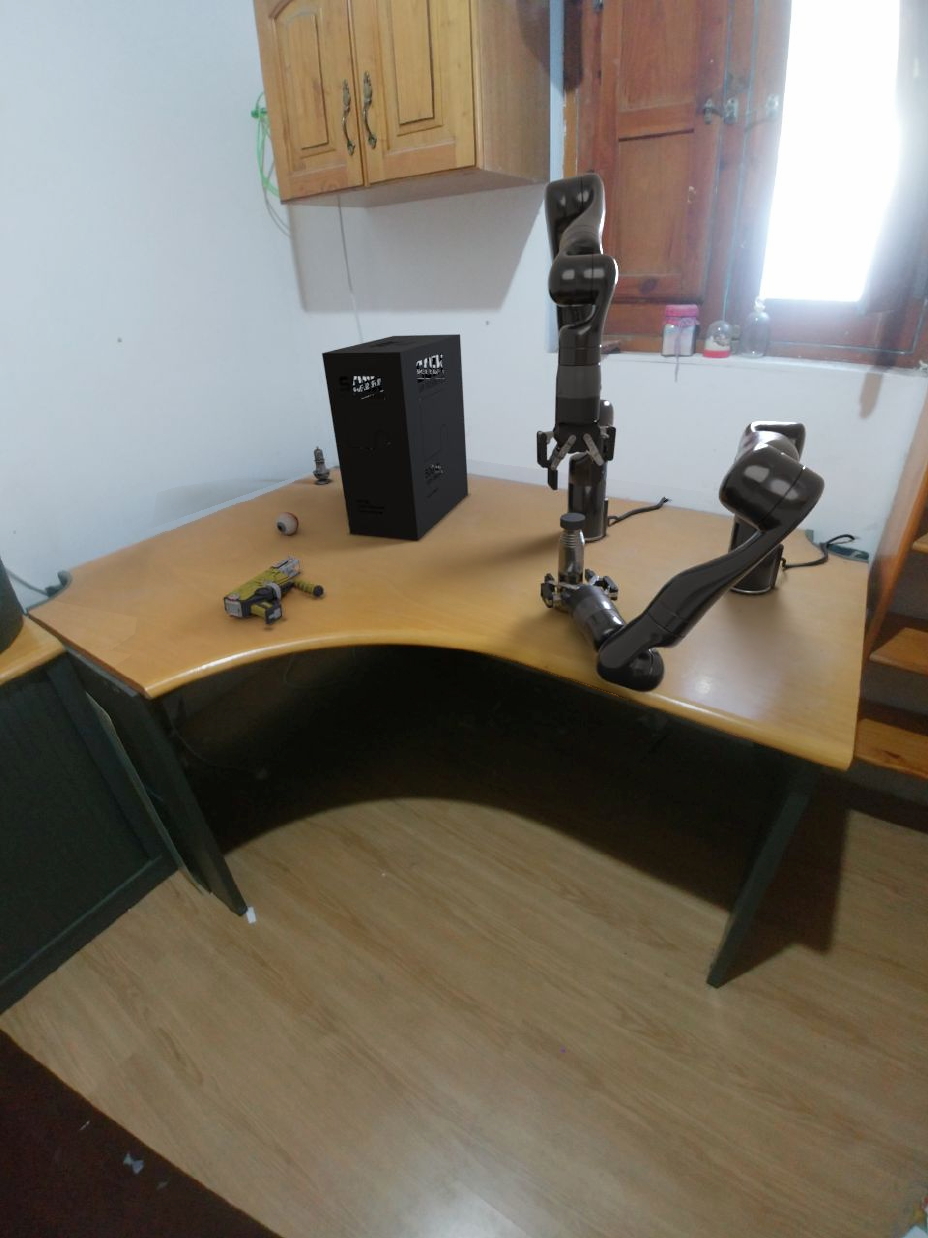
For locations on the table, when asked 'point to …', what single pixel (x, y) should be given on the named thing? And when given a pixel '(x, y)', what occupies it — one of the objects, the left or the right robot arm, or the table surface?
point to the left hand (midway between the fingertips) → (574, 486)
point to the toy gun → (267, 592)
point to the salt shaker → (320, 468)
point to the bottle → (570, 559)
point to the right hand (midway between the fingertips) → (567, 575)
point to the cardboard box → (399, 432)
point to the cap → (572, 521)
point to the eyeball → (287, 523)
